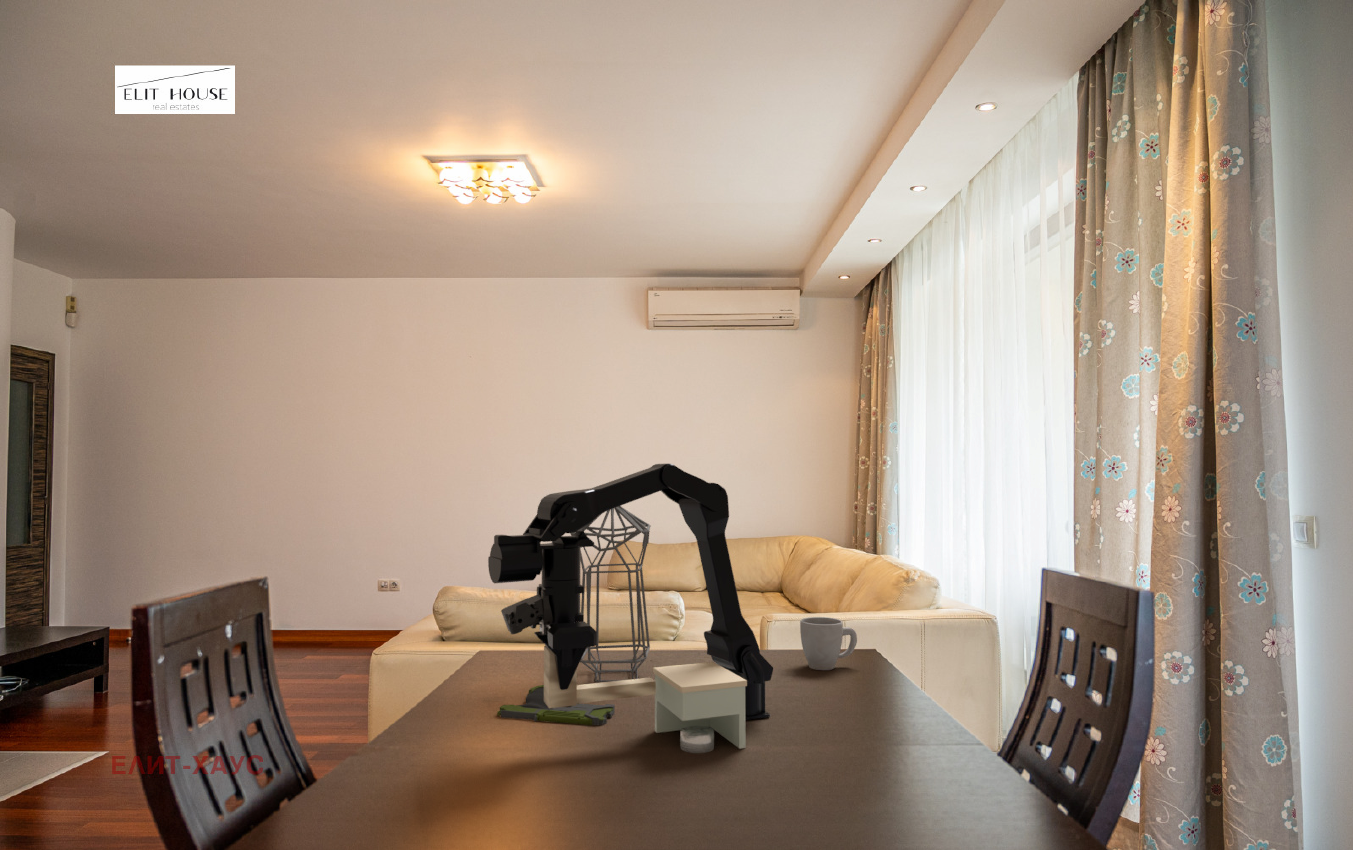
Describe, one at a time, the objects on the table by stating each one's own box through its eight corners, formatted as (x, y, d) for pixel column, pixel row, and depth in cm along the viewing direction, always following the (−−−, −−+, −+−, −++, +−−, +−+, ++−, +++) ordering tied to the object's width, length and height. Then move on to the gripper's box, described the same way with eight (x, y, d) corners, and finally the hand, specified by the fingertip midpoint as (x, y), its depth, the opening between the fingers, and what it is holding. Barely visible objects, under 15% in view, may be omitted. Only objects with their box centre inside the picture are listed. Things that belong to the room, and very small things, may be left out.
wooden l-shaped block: (648, 689, 121) (648, 637, 121) (657, 696, 117) (657, 642, 118) (543, 700, 115) (544, 646, 115) (549, 708, 111) (549, 651, 112)
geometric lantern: (652, 687, 147) (648, 503, 149) (570, 689, 147) (567, 505, 149) (656, 666, 163) (652, 499, 165) (581, 667, 163) (578, 501, 165)
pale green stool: (713, 723, 126) (713, 661, 127) (747, 748, 114) (747, 680, 115) (653, 730, 122) (653, 667, 123) (681, 757, 111) (681, 687, 111)
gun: (628, 704, 139) (602, 733, 124) (529, 696, 143) (493, 723, 128) (628, 690, 139) (602, 717, 124) (529, 682, 143) (493, 708, 128)
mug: (806, 672, 158) (806, 624, 159) (796, 662, 167) (795, 617, 168) (863, 671, 159) (863, 624, 160) (850, 661, 168) (849, 616, 169)
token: (706, 740, 118) (705, 723, 118) (719, 751, 114) (719, 734, 114) (675, 744, 116) (675, 727, 117) (687, 755, 112) (687, 738, 112)
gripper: (496, 573, 121) (495, 675, 120) (516, 590, 103) (515, 709, 102) (567, 570, 125) (566, 668, 124) (597, 585, 107) (597, 700, 106)
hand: (560, 685), depth 114 cm, fingers closed on wooden l-shaped block, 4 cm apart
